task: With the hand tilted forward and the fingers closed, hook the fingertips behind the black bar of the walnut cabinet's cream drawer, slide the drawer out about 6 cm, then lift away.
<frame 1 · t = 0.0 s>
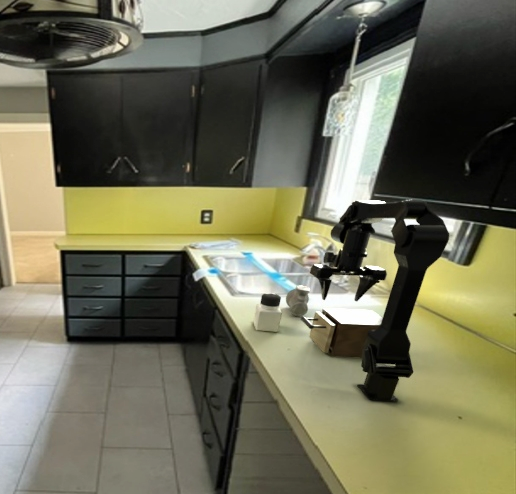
hand: (339, 300, 109), 15 cm above the worktop, tool pointing down, fingers open, 9 cm apart
medicine bottle: (265, 327, 127), on the worktop
pipe fitting: (295, 312, 141), on the worktop
cabinet: (347, 348, 112), on the worktop
drawer: (334, 331, 110), point 5 cm above the worktop, slide at 1.0 cm
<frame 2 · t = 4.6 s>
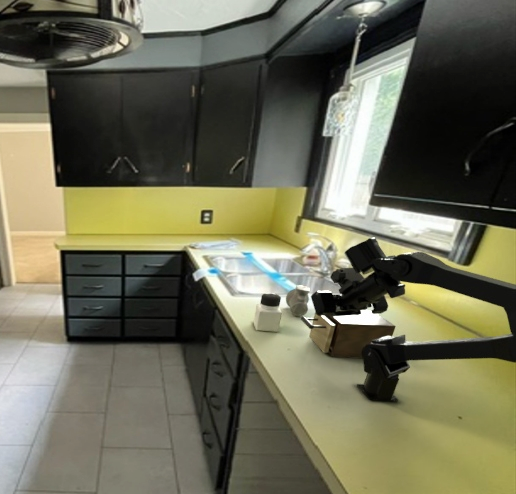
hand: (328, 315, 101), 13 cm above the worktop, tool tilted 45°, fingers closed
nothing on the worktop moved.
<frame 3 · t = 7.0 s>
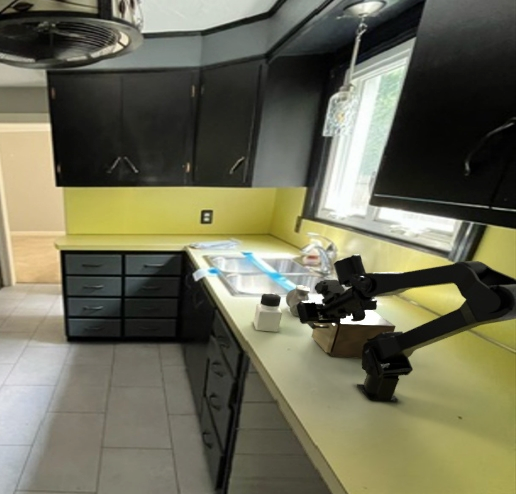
hand: (312, 321, 110), 8 cm above the worktop, tool tilted 45°, fingers closed, pressing on drawer
drawer: (336, 332, 110), point 5 cm above the worktop, slide at 0.3 cm, touching gripper
everything else where it was.
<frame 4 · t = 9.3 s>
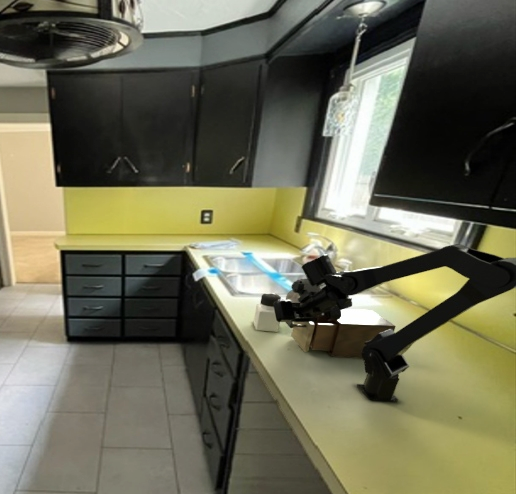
hand: (290, 320, 111), 8 cm above the worktop, tool tilted 50°, fingers closed, pressing on drawer
drawer: (314, 331, 111), point 5 cm above the worktop, slide at 6.6 cm, touching gripper
everything else where it was.
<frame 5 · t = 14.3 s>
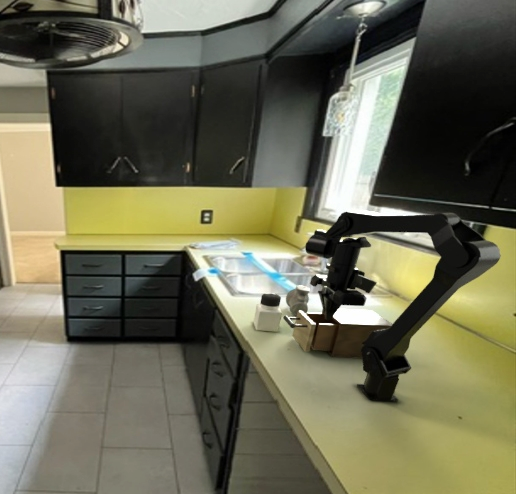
hand: (327, 319, 99), 13 cm above the worktop, tool pointing down, fingers closed
drawer: (316, 331, 111), point 5 cm above the worktop, slide at 6.3 cm
everything else where it was.
at the end: drawer slide at 6.3 cm; medicine bottle moved 0.2 cm from its start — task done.
